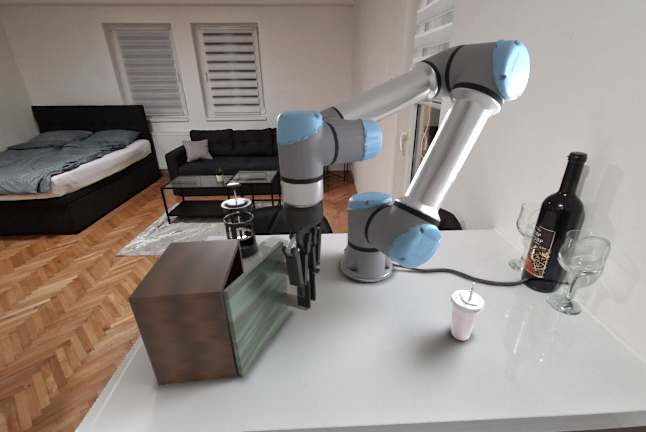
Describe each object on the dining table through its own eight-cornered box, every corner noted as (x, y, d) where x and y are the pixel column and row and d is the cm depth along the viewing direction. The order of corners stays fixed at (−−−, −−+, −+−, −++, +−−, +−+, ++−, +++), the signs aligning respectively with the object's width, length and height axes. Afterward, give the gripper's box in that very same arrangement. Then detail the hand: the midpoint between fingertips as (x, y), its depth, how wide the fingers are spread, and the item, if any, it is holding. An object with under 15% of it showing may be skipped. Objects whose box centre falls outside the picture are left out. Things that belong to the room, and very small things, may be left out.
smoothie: (461, 349, 63) (473, 295, 57) (438, 329, 68) (447, 277, 62) (482, 338, 65) (496, 285, 60) (458, 319, 71) (469, 269, 65)
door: (315, 321, 70) (312, 247, 62) (275, 389, 55) (264, 302, 47) (285, 313, 73) (279, 241, 65) (238, 375, 57) (222, 291, 49)
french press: (251, 260, 94) (241, 190, 85) (222, 258, 95) (209, 189, 86) (263, 242, 105) (256, 178, 95) (237, 240, 106) (227, 177, 96)
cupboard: (250, 311, 73) (239, 238, 65) (237, 377, 57) (220, 291, 49) (189, 316, 72) (170, 242, 64) (158, 385, 56) (127, 298, 47)
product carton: (290, 261, 94) (288, 240, 91) (276, 270, 89) (274, 248, 86) (275, 255, 97) (273, 235, 94) (261, 264, 92) (259, 243, 89)
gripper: (302, 185, 63) (306, 278, 73) (262, 212, 50) (273, 321, 60) (336, 190, 61) (335, 285, 70) (302, 219, 48) (307, 331, 58)
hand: (307, 302), depth 65 cm, fingers closed on door, 2 cm apart
